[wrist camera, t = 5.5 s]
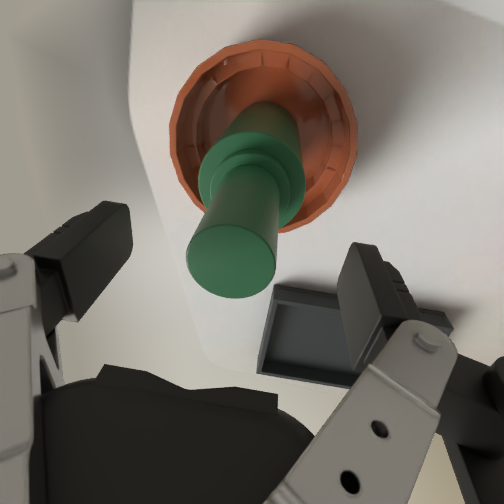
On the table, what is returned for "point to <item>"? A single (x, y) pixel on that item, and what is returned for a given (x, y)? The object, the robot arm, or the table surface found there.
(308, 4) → the table surface
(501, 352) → the table surface
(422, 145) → the table surface
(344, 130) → the bowl
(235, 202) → the bottle
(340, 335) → the tray
